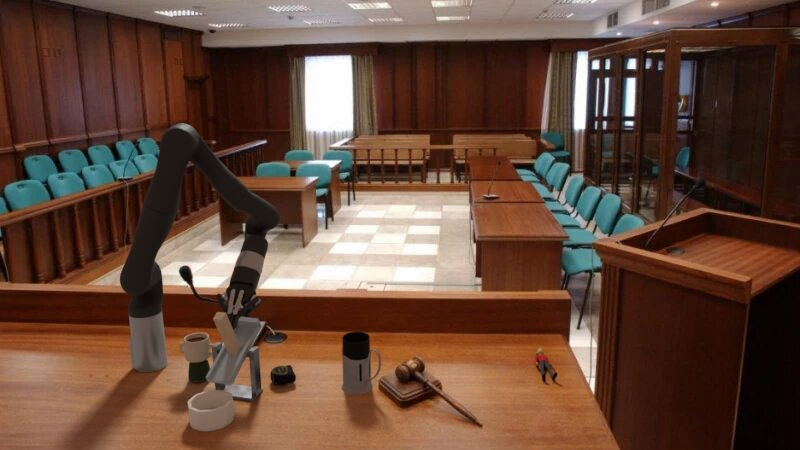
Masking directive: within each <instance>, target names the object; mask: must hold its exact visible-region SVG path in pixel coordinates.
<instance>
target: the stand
mask: <svg viewBox="0 0 800 450" xmlns="http://www.w3.org/2000/svg"><path fill="white" fill-rule="evenodd" d="M213 344H214V345H213V346H212V347H211V351H212V364H213V363H214V361H215V359H216V357H217V356H218V354H219V352H220V350H221V348H222V346H223V342H219V341H217V342H215V343H213ZM248 358H249V360H248V362H249V373H250V374H249V375H250V386H249V385H243V384H242V385H241V384H234V383H233V384H232V385H227V384H219V383H214V386H215V389H214V390H224V391H227V392H229V393H231V394H232V398H233V400H240V401H248V402H249V401H250V402H254V401H255V400H256V398H258V396H259V395H260V394H261V393H262V392H263V391H264V389H263V387H262V376H261V375H262V374H261V365H260V363H261V361H260V347H259V346H258V345H252V347H251V349H250V350H249V357H248Z"/></svg>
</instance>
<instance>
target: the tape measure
mask: <svg viewBox="0 0 800 450" xmlns="http://www.w3.org/2000/svg"><path fill="white" fill-rule="evenodd" d="M269 377H270V381H271V382H272V383H273V384H274V385H278V386H285V385H288V384H292V383H295V382H296V380H297V375H296V373H295V371H294V369H293V367H292V365H291V364H288V365H287V364H286V365H277V366H275V367H273V368H271V370H270V376H269Z"/></svg>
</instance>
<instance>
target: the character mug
mask: <svg viewBox="0 0 800 450" xmlns="http://www.w3.org/2000/svg"><path fill="white" fill-rule="evenodd" d="M214 344H215V343H211V340H210V335H209V334H208V333H206V332H193V333H189V334H187V335H185V336H184V338H183V341H181V342H178V348H179V353H181V354H184V358H185V360H186V362H189V364H188V376H187V377H188V380H189V381H190V382H192V383H201V382H204V381H207V379H206V375H207V374H208V372H209V370H210V368H211V367H210V362H209V361H208V360H209V358H210V356H211V355H212V346H213V345H214ZM212 356H213V355H212Z"/></svg>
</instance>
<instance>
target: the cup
mask: <svg viewBox="0 0 800 450" xmlns="http://www.w3.org/2000/svg"><path fill="white" fill-rule="evenodd" d="M234 407H235V405H234V399H233V398H232V394H231V393H229V392H227V391H224V390H215V389H209V390H204V391H202V392H198V393H196V394H193V396H192V397H191V398H189V399H188V400H187V409H188V421H189V426H190V427H191V429H193V430H194V431H197V432H202V433H203V432H205V433H206V432H214V431H218V430H221V429H223V428H226V427H228V426H230V424H231V423H233V421H234V419H235V408H234ZM207 409H209V410H207Z"/></svg>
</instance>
